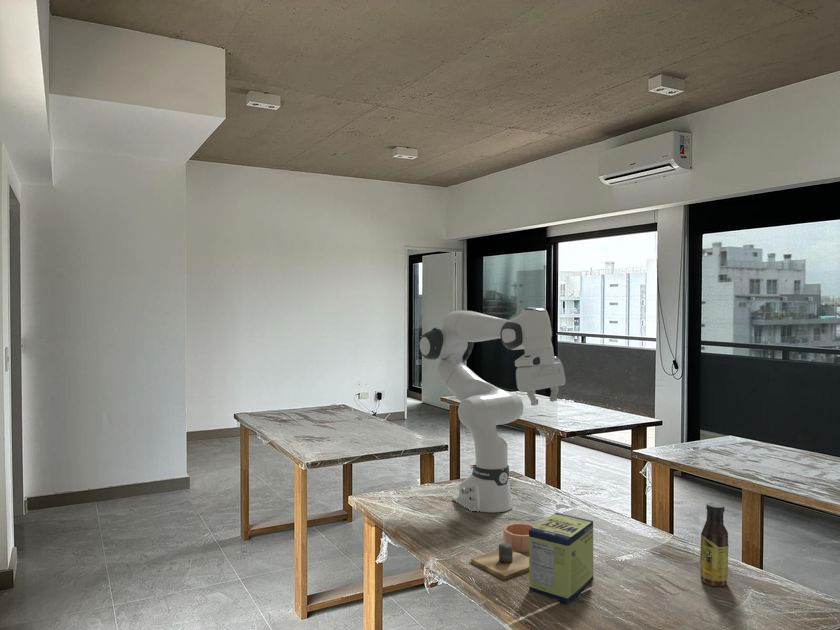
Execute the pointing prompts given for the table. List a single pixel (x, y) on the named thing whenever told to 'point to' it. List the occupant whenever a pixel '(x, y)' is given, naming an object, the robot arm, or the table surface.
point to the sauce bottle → (714, 547)
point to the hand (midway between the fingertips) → (544, 403)
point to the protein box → (561, 557)
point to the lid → (503, 562)
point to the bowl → (517, 536)
